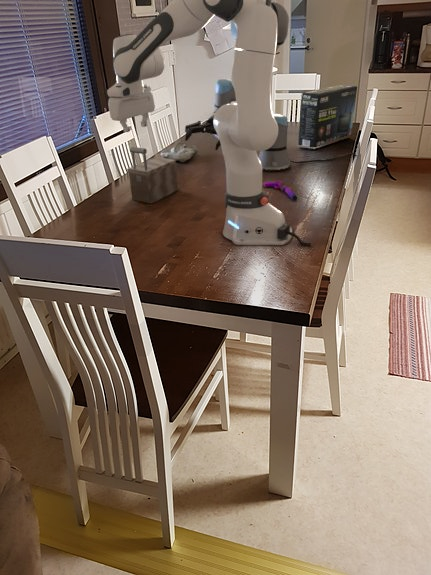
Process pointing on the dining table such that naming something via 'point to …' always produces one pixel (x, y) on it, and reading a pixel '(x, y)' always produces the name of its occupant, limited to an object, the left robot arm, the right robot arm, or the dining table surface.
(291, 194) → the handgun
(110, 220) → the dining table surface
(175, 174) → the chest
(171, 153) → the fossil
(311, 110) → the router box
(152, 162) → the lid
